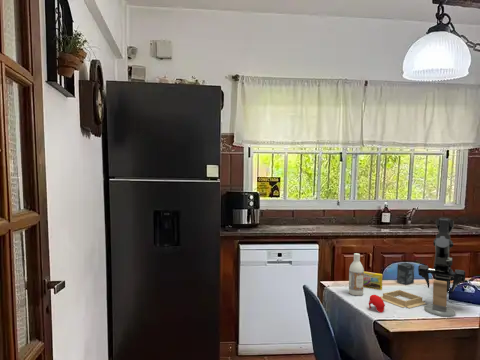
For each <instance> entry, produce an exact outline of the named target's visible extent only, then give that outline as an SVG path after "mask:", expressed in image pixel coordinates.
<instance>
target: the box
mask: <svg viewBox="0 0 480 360" xmlns="http://www.w3.org/2000/svg"><path fill="white" fill-rule="evenodd" d="M396 271H397V272H396V283H397V282H398V284H401V285H405V286H407V285H410V284H414V283H415V264H413V263H409V262H402V263H397V270H396Z"/></svg>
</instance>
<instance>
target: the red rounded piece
mask: <svg viewBox="0 0 480 360" xmlns="http://www.w3.org/2000/svg"><path fill="white" fill-rule="evenodd" d="M384 302H385V301H383V300H382V299H381V298H380V296H379V295H377V294H372V295H371V294H370V296H369V301H368V307H369V309H370V310H371V309H372V305H373V306H374V307H375V309H376V311H377V312H378V313H381V314H382V313H383V312H385V306H386V304H385V303H384Z"/></svg>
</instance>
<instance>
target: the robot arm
mask: <svg viewBox="0 0 480 360" xmlns="http://www.w3.org/2000/svg"><path fill="white" fill-rule="evenodd" d="M454 223H455V221H454V220H453V219H451V218H448V217H439V218H436V219H435V227H436V228H437V229H436V230H437V234H436V235H435V238H434V239H433V244H432V245H433V246H434V247H435V248H434V249H435V253H434V254H435V257H434V262H433V263H434V264H433V268H429V265H426V264H419V265H418V266H417V270H418V271H417V272H418V276H420V277H421V278H422V279H423V278H424V281H425V282H426V284H427V288H428V289H430V277H429V274H433V280H440V281H446V282H447V293H449V292H448V291H449V288H450V289H451V291H452V292H451V293H453V292H454V290H455V288H456V287H457V286H458V284H462V283H465V282H466V271H465V270H464V269H463V270H462V269H454V270H455V271H453V268H452V266H453V257H450V250H451V249H452V248H453V247H454V242H453V240H451V234H452V232H453V229H454ZM451 282H452V286H451Z"/></svg>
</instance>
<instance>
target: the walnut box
mask: <svg viewBox="0 0 480 360" xmlns="http://www.w3.org/2000/svg"><path fill="white" fill-rule="evenodd" d="M432 282H433V284H432V285H433V287H432V304H433V310H437V311H442V312H446V309H447V307H448V305H447V298H448V297H447V295H448V292H447V282H446V281H440V280H435V279H433V281H432Z"/></svg>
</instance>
